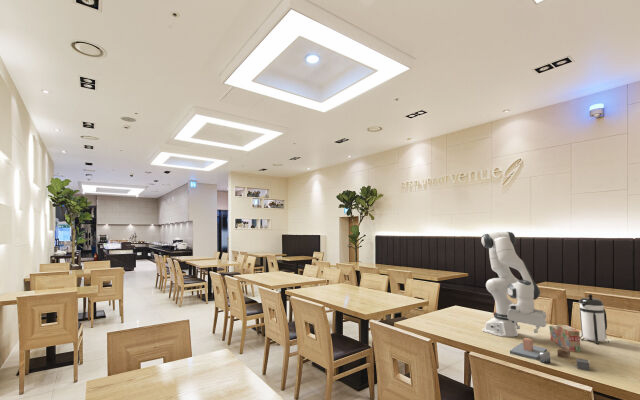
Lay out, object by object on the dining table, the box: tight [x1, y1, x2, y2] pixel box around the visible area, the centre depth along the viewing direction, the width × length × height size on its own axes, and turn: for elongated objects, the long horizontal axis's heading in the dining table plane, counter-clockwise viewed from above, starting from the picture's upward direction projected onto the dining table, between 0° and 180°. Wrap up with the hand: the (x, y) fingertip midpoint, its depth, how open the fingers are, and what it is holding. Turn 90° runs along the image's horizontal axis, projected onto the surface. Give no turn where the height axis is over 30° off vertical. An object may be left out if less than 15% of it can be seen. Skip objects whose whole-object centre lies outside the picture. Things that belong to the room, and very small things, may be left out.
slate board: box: [509, 342, 548, 361], centre depth 198 cm, size 14×20×2 cm
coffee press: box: [578, 293, 610, 346], centre depth 218 cm, size 17×16×30 cm
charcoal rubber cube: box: [575, 357, 591, 372], centre depth 175 cm, size 5×5×4 cm
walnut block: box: [556, 347, 571, 360], centre depth 191 cm, size 5×5×4 cm
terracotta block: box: [522, 337, 534, 351], centre depth 199 cm, size 4×4×6 cm
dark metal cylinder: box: [539, 351, 552, 365], centre depth 184 cm, size 5×5×5 cm
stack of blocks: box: [549, 324, 582, 352], centre depth 209 cm, size 21×6×12 cm, turn 172°
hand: (526, 330), depth 200 cm, fingers open, 8 cm apart
